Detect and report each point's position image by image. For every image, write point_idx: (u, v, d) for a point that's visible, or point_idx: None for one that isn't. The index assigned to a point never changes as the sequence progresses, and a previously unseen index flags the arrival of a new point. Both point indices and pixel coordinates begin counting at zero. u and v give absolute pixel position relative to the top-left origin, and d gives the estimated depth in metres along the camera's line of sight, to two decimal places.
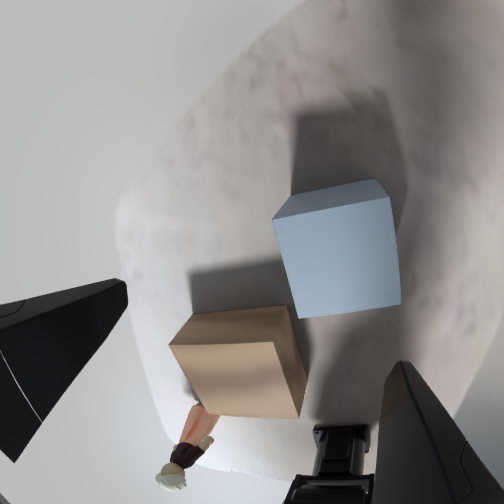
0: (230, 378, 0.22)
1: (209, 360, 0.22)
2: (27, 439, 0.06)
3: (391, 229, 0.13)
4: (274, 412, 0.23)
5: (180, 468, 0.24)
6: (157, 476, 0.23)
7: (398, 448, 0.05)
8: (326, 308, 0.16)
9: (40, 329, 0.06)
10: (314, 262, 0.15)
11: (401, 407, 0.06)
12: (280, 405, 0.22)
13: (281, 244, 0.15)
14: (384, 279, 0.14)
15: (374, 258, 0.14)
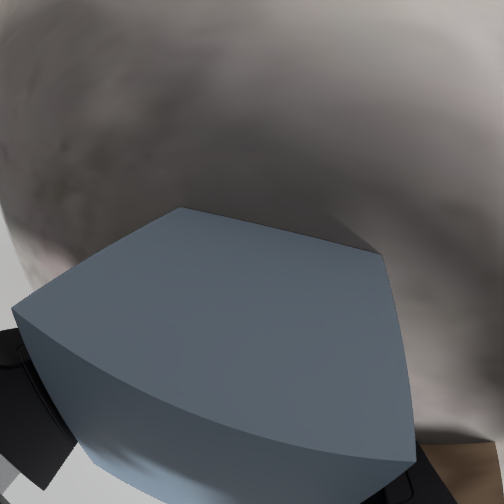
0: None
1: None
2: (57, 465, 0.05)
3: (75, 359, 0.03)
4: None
5: None
6: None
7: None
8: None
9: None
10: (166, 491, 0.05)
11: None
12: None
13: (131, 484, 0.06)
14: (259, 468, 0.03)
15: (167, 445, 0.03)
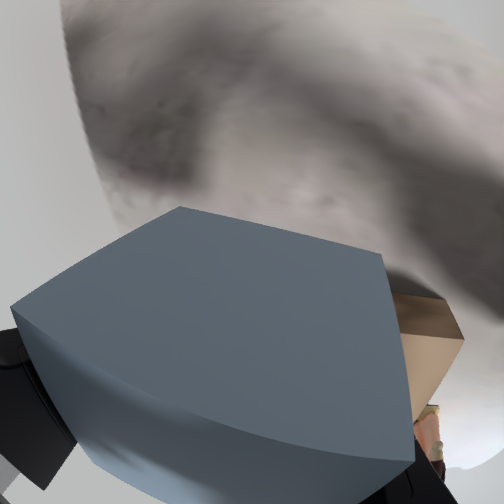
0: None
1: None
2: (57, 465, 0.05)
3: (73, 357, 0.03)
4: (441, 363, 0.15)
5: None
6: None
7: None
8: None
9: None
10: (165, 491, 0.05)
11: None
12: (432, 353, 0.15)
13: (130, 483, 0.06)
14: (257, 467, 0.03)
15: (165, 444, 0.03)
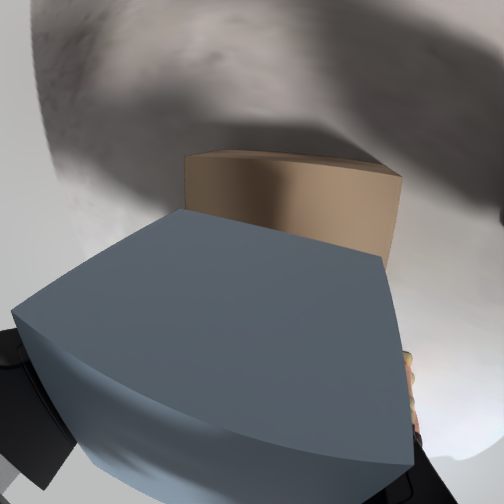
0: None
1: None
2: (58, 465, 0.05)
3: (74, 362, 0.03)
4: (374, 224, 0.11)
5: None
6: None
7: None
8: None
9: None
10: (166, 492, 0.05)
11: None
12: (352, 200, 0.11)
13: (130, 485, 0.06)
14: (258, 470, 0.03)
15: (166, 448, 0.03)
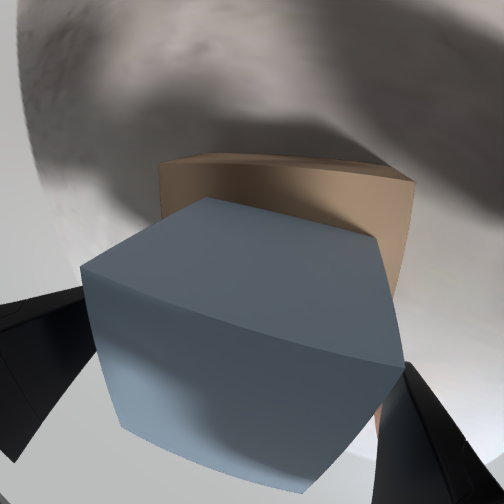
0: None
1: None
2: (27, 439, 0.06)
3: (144, 300, 0.05)
4: (382, 239, 0.09)
5: None
6: None
7: (398, 448, 0.05)
8: (303, 472, 0.06)
9: (40, 329, 0.06)
10: (195, 441, 0.06)
11: (401, 407, 0.06)
12: (355, 211, 0.09)
13: (157, 443, 0.07)
14: (288, 381, 0.05)
15: (213, 372, 0.05)
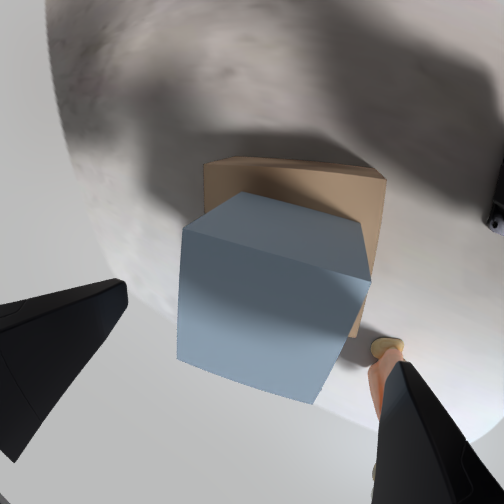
0: None
1: None
2: (27, 439, 0.06)
3: (229, 246, 0.09)
4: (364, 219, 0.13)
5: None
6: (372, 492, 0.11)
7: (398, 448, 0.05)
8: (314, 375, 0.10)
9: (39, 328, 0.06)
10: (240, 355, 0.11)
11: (401, 407, 0.06)
12: (345, 199, 0.13)
13: (206, 368, 0.12)
14: (309, 291, 0.09)
15: (265, 289, 0.09)
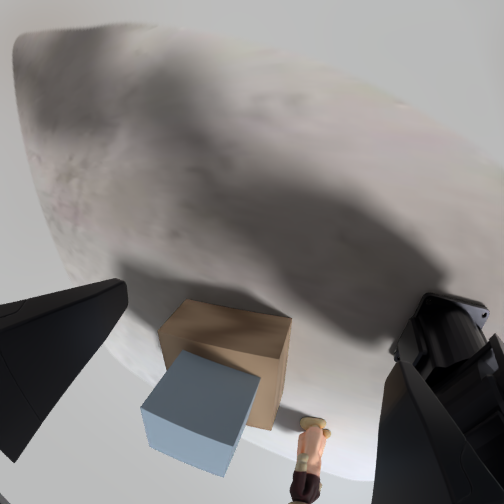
0: None
1: None
2: (28, 439, 0.06)
3: (163, 419, 0.15)
4: (265, 377, 0.19)
5: (296, 503, 0.18)
6: None
7: (398, 448, 0.05)
8: (219, 468, 0.16)
9: (40, 329, 0.06)
10: (180, 453, 0.16)
11: (401, 407, 0.06)
12: (250, 366, 0.19)
13: (165, 453, 0.17)
14: (204, 442, 0.15)
15: (184, 437, 0.15)
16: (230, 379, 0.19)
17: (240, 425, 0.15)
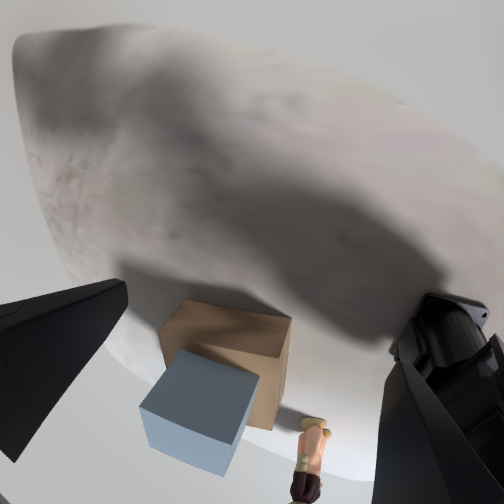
0: None
1: None
2: (27, 439, 0.06)
3: (162, 418, 0.15)
4: (265, 377, 0.19)
5: (296, 503, 0.18)
6: None
7: (398, 448, 0.05)
8: (219, 467, 0.16)
9: (40, 329, 0.06)
10: (180, 453, 0.16)
11: (401, 407, 0.06)
12: (250, 366, 0.19)
13: (165, 453, 0.17)
14: (203, 441, 0.15)
15: (183, 436, 0.15)
16: (229, 378, 0.19)
17: (239, 423, 0.15)
